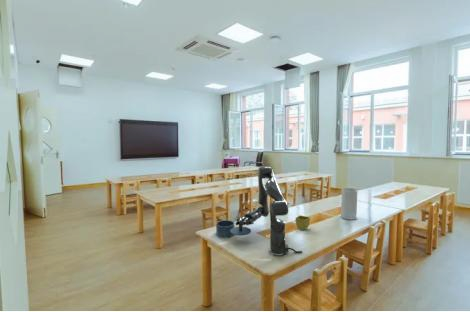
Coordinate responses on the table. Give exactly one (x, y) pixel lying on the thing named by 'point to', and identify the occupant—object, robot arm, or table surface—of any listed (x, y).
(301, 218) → the flower pot
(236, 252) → the table surface
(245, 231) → the lid
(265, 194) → the robot arm
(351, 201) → the cylinder vase
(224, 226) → the pot
